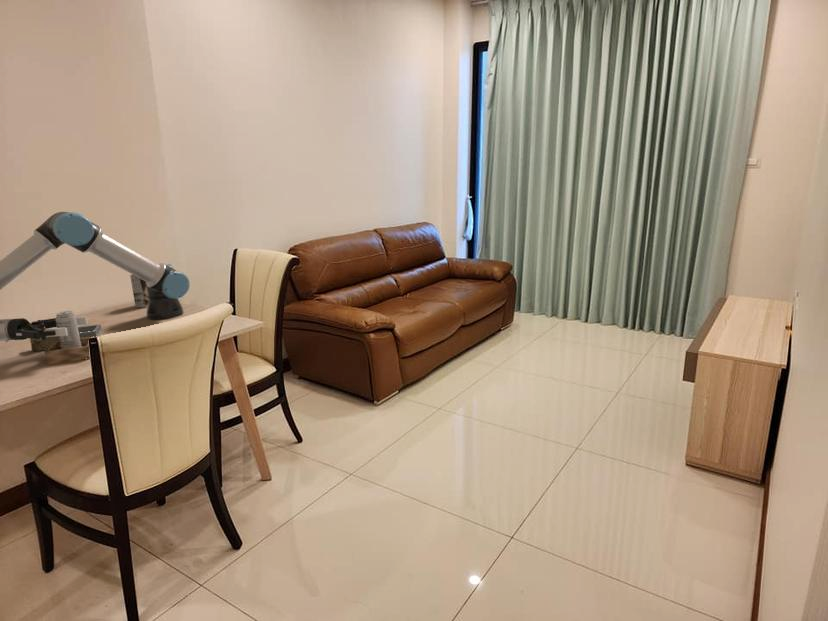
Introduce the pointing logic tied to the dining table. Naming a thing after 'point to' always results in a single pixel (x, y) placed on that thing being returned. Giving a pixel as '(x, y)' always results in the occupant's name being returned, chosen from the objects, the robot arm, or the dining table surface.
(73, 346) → the energy drink can
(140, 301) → the coffee box
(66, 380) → the dining table surface
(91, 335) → the tray
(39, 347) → the stone block
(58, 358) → the walnut bin
